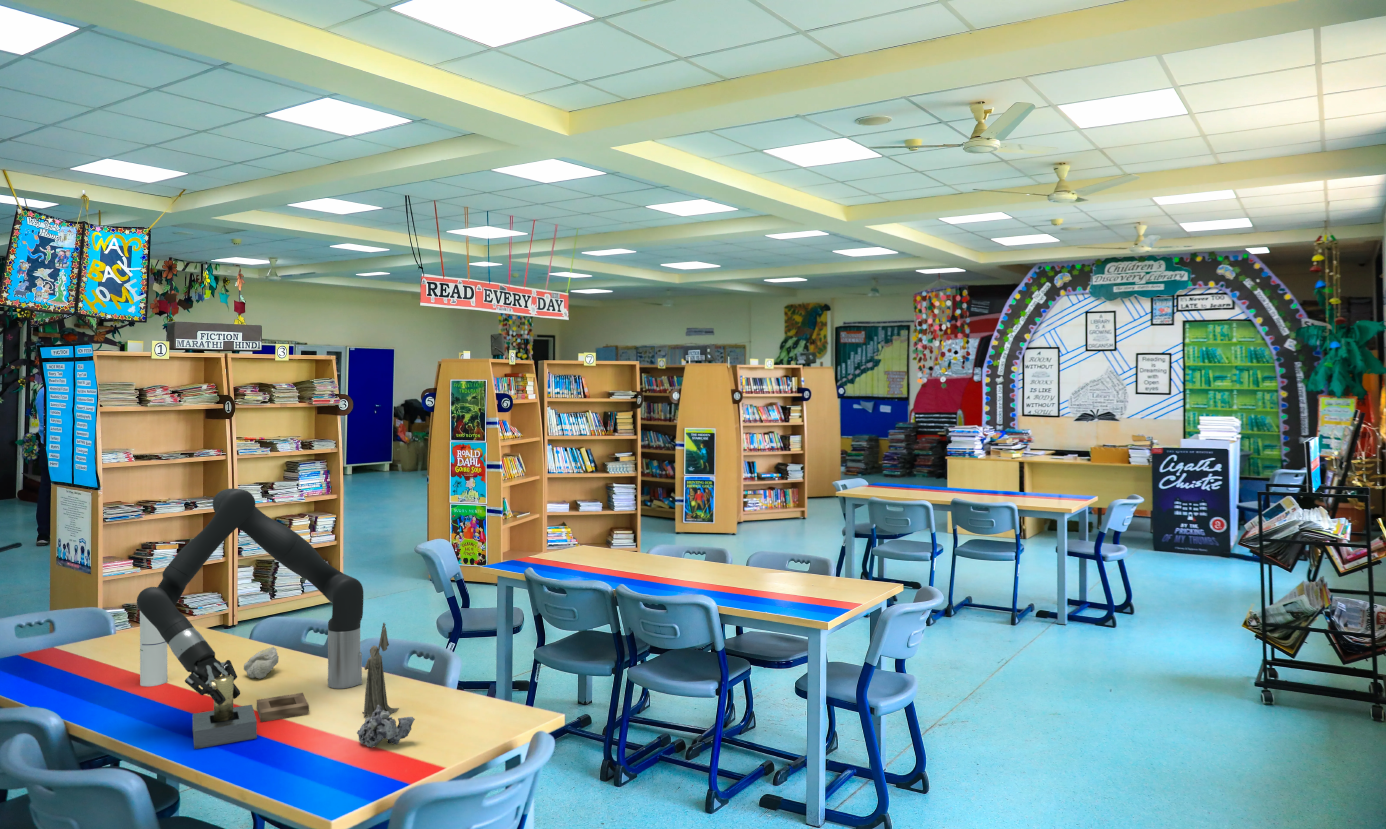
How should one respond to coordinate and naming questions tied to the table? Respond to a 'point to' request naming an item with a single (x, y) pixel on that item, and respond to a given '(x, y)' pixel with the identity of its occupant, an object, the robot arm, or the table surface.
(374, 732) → the mineral specimen
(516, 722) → the table surface
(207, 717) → the charcoal block
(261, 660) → the fossil replica
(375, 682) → the wizard figurine
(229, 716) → the brass peg
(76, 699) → the table surface
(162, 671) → the cylindrical container
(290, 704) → the walnut stand
